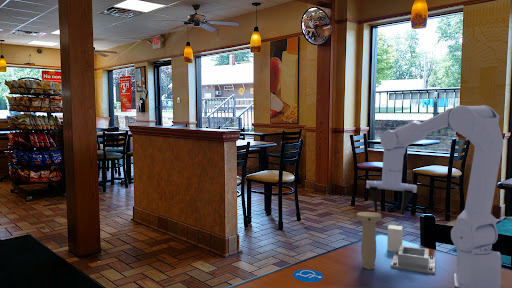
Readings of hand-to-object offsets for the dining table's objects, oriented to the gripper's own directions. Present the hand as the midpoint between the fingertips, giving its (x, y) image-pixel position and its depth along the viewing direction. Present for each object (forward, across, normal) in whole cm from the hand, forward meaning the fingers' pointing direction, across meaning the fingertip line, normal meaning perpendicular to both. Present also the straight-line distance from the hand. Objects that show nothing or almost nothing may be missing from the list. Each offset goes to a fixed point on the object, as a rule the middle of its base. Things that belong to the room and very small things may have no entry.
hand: (388, 212), depth 118 cm
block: (+12, -3, 0) cm, 12 cm away
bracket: (+11, -7, +11) cm, 17 cm away
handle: (+11, +5, +17) cm, 21 cm away
